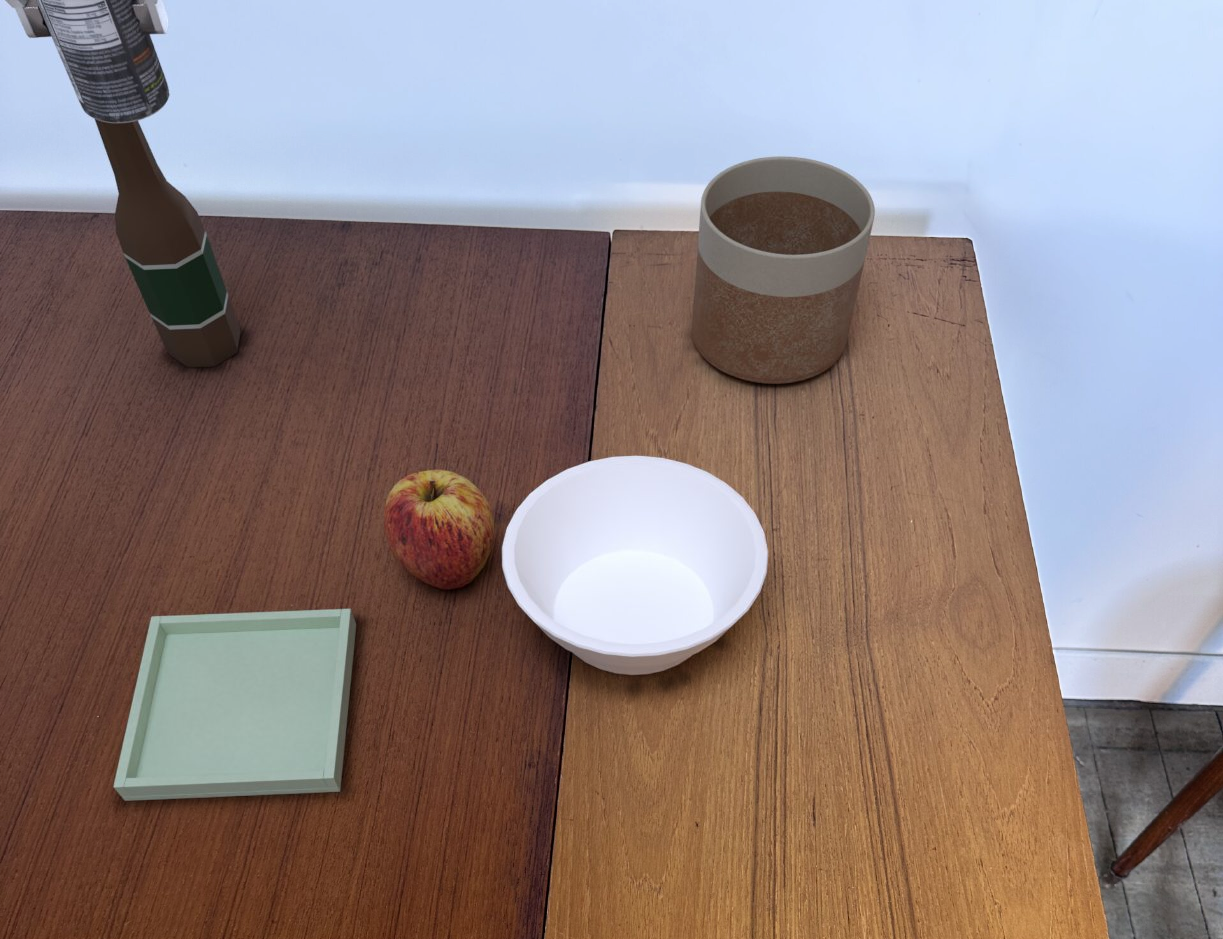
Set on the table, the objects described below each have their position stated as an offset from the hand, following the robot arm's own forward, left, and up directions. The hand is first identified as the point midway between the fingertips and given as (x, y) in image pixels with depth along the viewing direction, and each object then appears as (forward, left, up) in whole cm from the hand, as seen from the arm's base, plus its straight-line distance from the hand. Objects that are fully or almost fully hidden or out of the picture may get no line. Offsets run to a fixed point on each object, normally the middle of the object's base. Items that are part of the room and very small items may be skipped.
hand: (99, 31), depth 66 cm
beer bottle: (-8, +17, -35) cm, 40 cm away
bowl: (+34, -21, -35) cm, 53 cm away
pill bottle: (0, 0, -4) cm, 4 cm away
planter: (+50, +15, -35) cm, 63 cm away
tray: (+2, -29, -35) cm, 45 cm away
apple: (+18, -15, -35) cm, 42 cm away
